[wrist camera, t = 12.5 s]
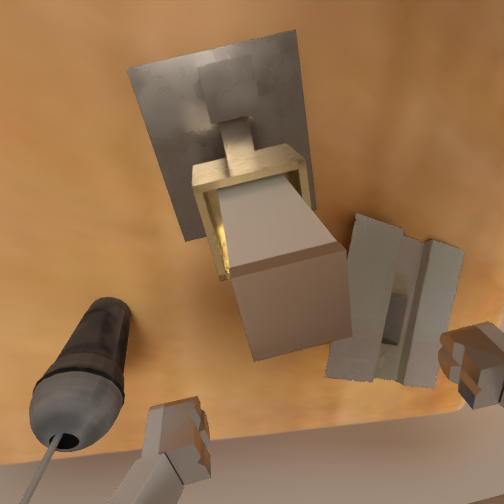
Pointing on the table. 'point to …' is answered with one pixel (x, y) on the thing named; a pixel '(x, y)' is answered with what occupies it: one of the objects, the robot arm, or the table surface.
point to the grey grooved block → (395, 305)
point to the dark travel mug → (82, 385)
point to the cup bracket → (225, 127)
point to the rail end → (283, 268)
